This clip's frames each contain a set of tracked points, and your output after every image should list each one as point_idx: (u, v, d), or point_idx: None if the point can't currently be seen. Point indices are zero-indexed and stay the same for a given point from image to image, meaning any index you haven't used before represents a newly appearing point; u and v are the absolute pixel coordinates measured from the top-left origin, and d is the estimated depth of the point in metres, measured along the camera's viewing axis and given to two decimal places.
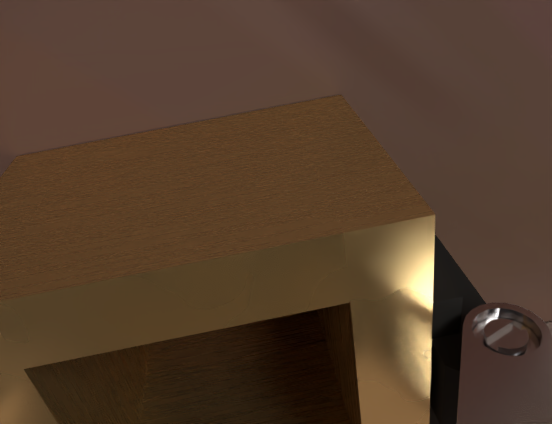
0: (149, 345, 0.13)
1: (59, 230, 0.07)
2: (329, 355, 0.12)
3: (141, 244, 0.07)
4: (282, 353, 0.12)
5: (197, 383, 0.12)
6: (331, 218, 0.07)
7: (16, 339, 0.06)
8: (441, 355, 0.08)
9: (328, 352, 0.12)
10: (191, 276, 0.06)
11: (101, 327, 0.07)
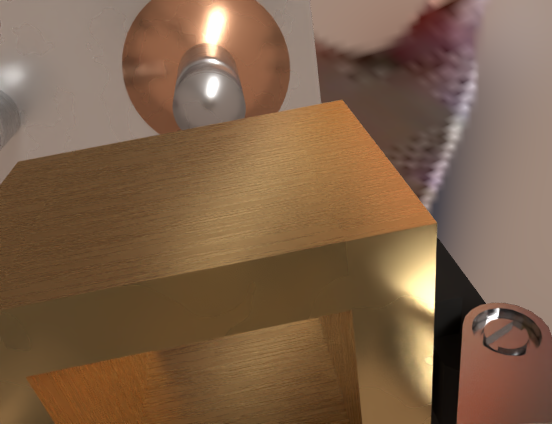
0: None
1: (59, 237, 0.07)
2: (330, 359, 0.12)
3: (143, 252, 0.07)
4: (283, 357, 0.12)
5: (198, 387, 0.12)
6: (333, 226, 0.07)
7: (18, 347, 0.06)
8: (441, 355, 0.08)
9: (329, 356, 0.12)
10: (193, 284, 0.06)
11: (103, 335, 0.06)
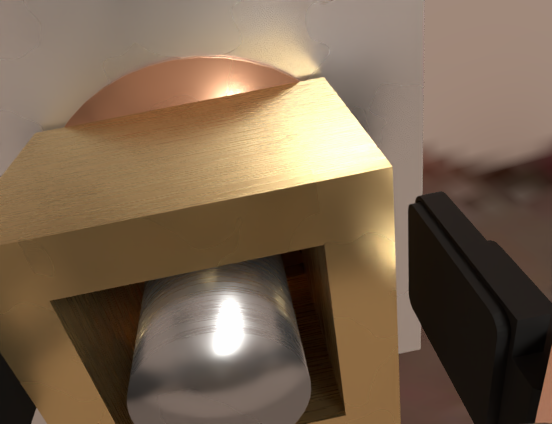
0: None
1: (76, 187, 0.09)
2: (316, 314, 0.13)
3: (148, 196, 0.08)
4: None
5: None
6: (307, 172, 0.08)
7: (44, 273, 0.08)
8: (526, 376, 0.07)
9: (315, 312, 0.13)
10: (189, 219, 0.08)
11: (115, 264, 0.08)
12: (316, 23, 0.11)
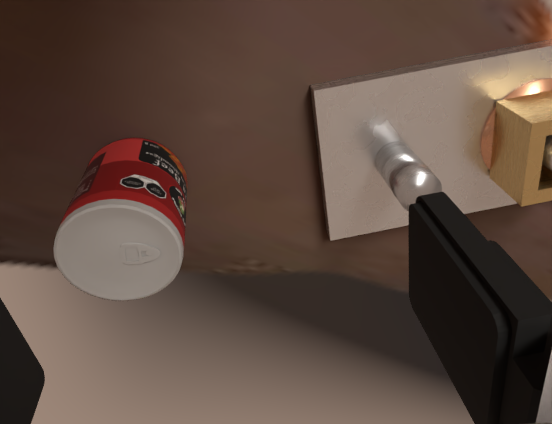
0: None
1: (543, 111, 0.36)
2: None
3: None
4: None
5: None
6: None
7: (549, 128, 0.35)
8: (527, 376, 0.07)
9: None
10: None
11: None
12: None
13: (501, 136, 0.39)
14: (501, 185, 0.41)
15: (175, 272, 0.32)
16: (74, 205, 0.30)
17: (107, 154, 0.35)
